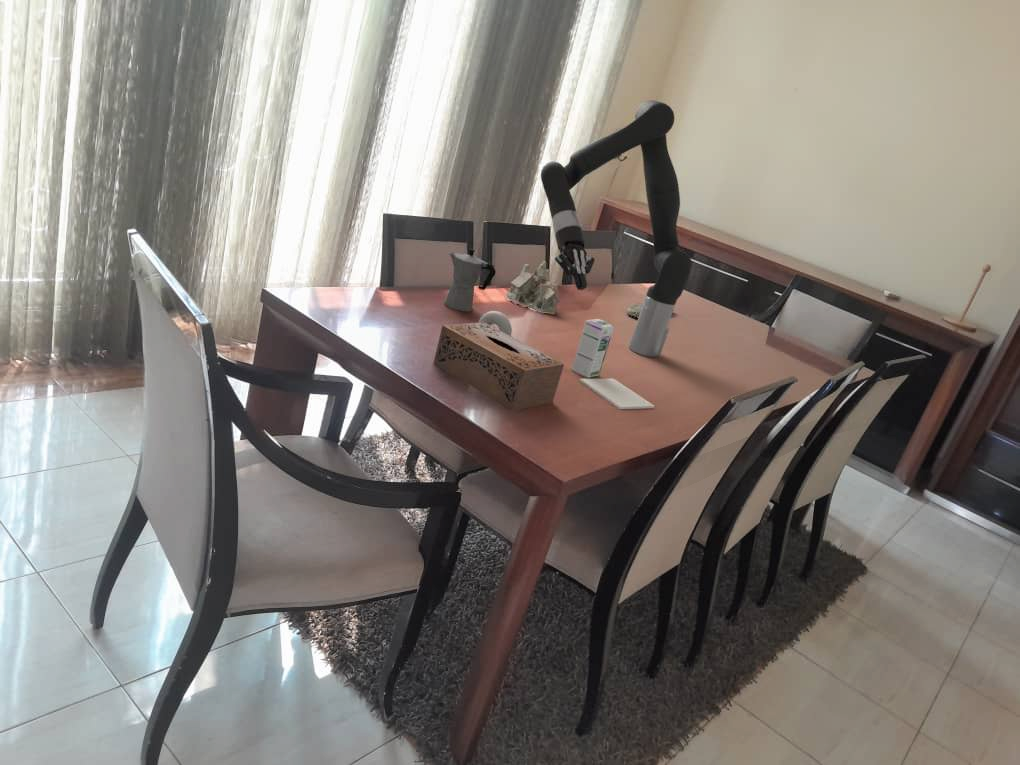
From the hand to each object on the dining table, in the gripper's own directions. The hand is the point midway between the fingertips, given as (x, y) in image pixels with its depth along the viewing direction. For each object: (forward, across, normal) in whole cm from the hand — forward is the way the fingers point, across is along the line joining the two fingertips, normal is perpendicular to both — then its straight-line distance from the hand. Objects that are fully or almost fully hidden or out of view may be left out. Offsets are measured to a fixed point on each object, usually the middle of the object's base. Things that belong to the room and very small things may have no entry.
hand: (582, 288), depth 199 cm
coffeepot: (-11, -12, +40) cm, 43 cm away
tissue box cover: (+26, -34, +3) cm, 43 cm away
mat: (+31, 0, -3) cm, 31 cm away
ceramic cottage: (-17, +20, +45) cm, 52 cm away
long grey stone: (-16, +79, +45) cm, 92 cm away
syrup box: (+22, 0, +7) cm, 23 cm away
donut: (+10, -21, +18) cm, 29 cm away
